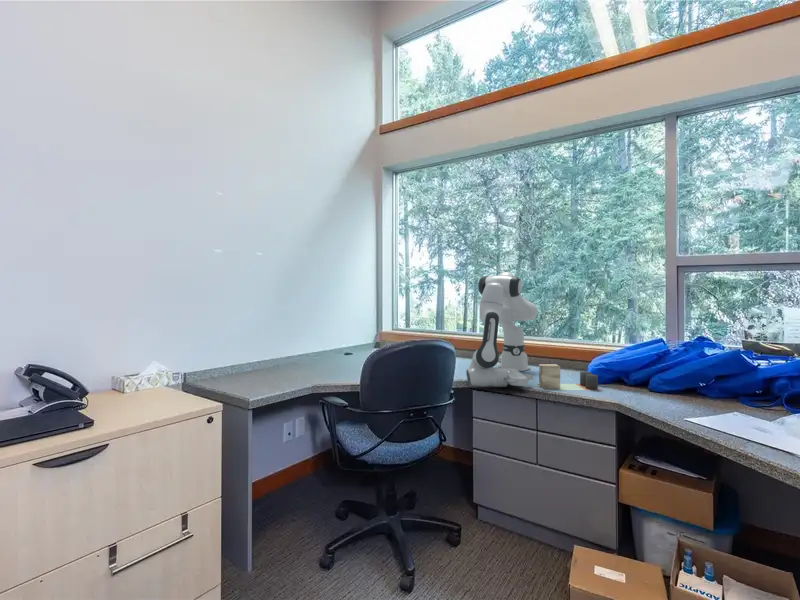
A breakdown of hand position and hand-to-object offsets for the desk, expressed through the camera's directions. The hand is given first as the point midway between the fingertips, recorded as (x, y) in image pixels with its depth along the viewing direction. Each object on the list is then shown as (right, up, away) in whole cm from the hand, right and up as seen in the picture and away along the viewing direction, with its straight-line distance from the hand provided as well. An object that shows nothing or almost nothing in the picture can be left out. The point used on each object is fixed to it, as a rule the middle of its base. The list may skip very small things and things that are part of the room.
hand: (531, 377), depth 185 cm
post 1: (+26, -4, +2) cm, 27 cm away
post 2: (+26, -5, -4) cm, 27 cm away
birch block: (+8, -4, 0) cm, 9 cm away
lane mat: (+17, -5, 0) cm, 17 cm away
